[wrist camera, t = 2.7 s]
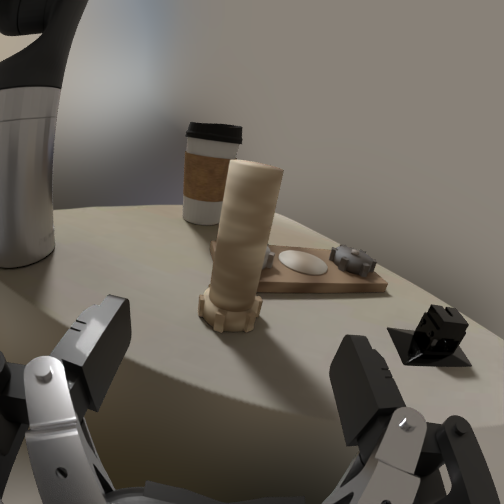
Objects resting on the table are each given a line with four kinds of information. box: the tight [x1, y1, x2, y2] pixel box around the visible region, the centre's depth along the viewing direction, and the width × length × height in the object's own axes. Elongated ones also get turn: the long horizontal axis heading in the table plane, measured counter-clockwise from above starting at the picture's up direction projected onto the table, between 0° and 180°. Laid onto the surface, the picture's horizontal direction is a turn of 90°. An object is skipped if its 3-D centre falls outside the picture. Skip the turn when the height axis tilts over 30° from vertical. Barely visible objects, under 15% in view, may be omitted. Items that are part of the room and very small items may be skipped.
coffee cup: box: [183, 122, 242, 225], centre depth 41 cm, size 8×8×15 cm
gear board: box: [210, 241, 388, 293], centre depth 32 cm, size 20×9×3 cm, turn 105°
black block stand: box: [387, 304, 472, 367], centre depth 22 cm, size 12×7×5 cm, turn 85°
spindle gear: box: [198, 160, 284, 333], centre depth 21 cm, size 5×5×12 cm
